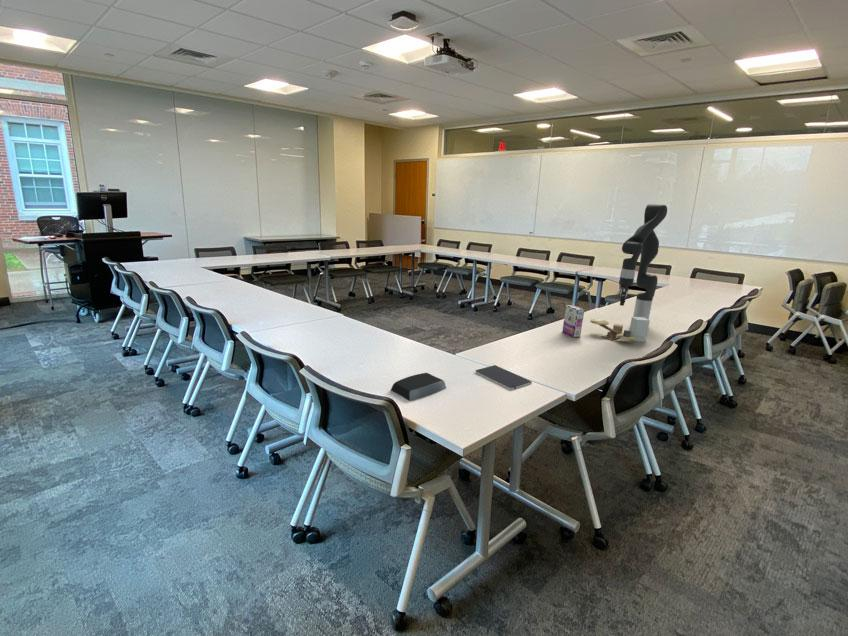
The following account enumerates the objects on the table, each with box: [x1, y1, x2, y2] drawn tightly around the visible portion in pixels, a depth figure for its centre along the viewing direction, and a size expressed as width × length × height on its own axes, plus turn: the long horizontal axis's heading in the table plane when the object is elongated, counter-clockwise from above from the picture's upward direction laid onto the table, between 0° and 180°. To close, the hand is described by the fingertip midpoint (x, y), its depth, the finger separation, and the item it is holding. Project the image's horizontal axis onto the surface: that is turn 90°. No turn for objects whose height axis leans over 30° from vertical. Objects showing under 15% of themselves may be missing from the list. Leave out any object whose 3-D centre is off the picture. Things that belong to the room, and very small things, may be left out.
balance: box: [590, 318, 636, 341], centre depth 257 cm, size 28×10×7 cm, turn 36°
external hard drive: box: [390, 372, 447, 402], centre depth 177 cm, size 13×19×4 cm
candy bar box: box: [561, 304, 585, 338], centre depth 258 cm, size 11×5×16 cm, turn 17°
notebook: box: [475, 364, 532, 391], centre depth 193 cm, size 13×2×21 cm
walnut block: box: [612, 323, 624, 333], centre depth 268 cm, size 5×5×5 cm
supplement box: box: [629, 316, 650, 343], centre depth 256 cm, size 7×7×13 cm
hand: (622, 304), depth 264 cm, fingers open, 8 cm apart
